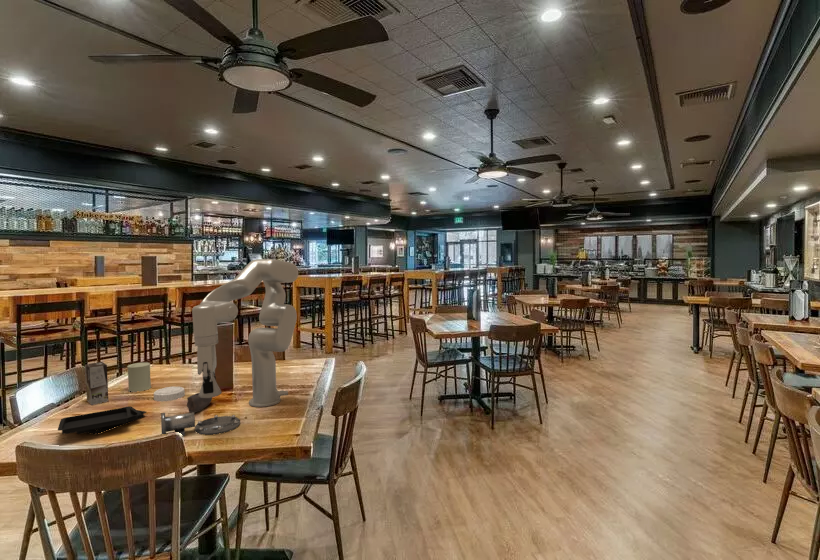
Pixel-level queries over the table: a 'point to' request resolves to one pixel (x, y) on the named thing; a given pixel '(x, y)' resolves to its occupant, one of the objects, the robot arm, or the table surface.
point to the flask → (215, 387)
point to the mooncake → (169, 393)
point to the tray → (99, 420)
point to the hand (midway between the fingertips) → (209, 389)
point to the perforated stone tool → (197, 403)
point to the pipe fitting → (203, 427)
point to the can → (139, 377)
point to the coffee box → (96, 382)
